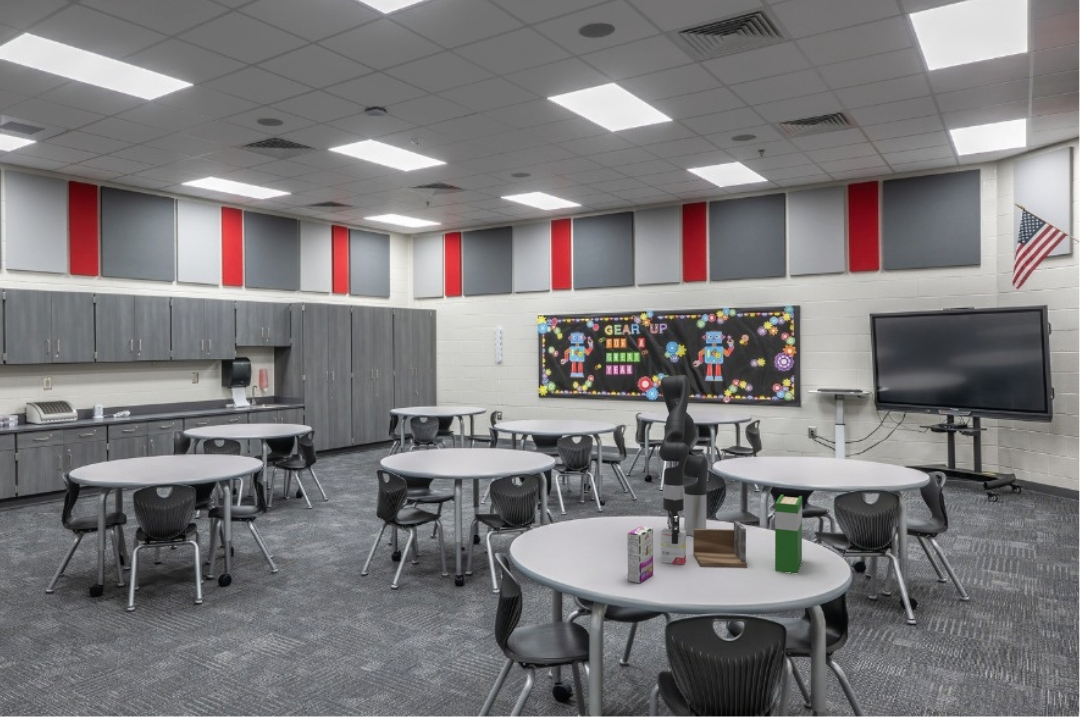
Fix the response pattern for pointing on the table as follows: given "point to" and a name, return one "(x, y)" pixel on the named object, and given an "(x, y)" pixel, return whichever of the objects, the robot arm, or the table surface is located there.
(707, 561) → the wooden book holder
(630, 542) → the candy bar box
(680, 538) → the ink box
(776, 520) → the hardback book
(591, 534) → the table surface
